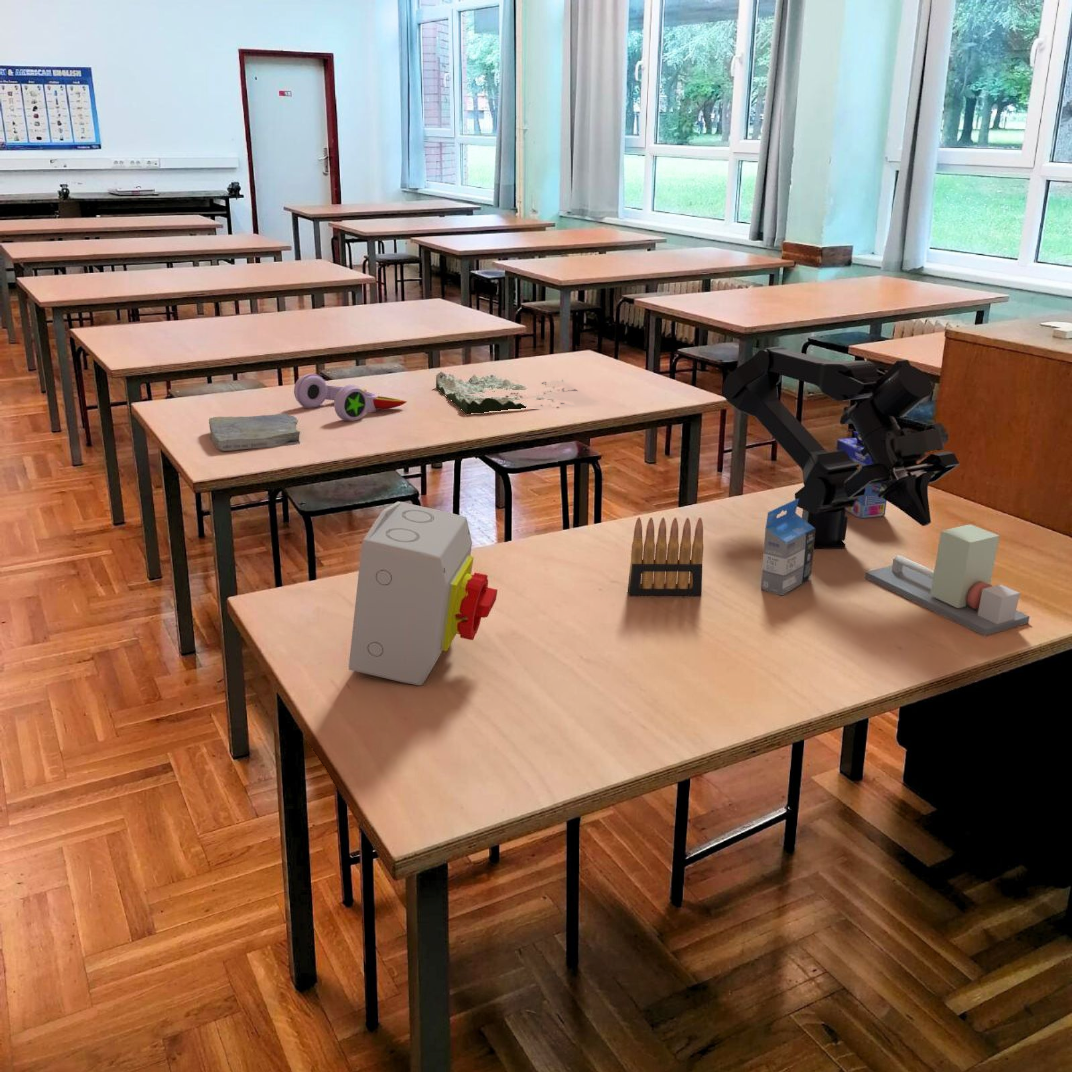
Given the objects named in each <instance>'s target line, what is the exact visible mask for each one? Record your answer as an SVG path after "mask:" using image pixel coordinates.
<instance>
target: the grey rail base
mask: <svg viewBox="0 0 1072 1072" xmlns="http://www.w3.org/2000/svg"><path fill="white" fill-rule="evenodd" d="M933 575H934V570H933V569H932V568H929V567H927V566H924V565H923V564H920V563H918V562H915V561H913V560H911V559H908V558H906V557H904V556H902V555H899V554H898V555H896V556H895V557H894V558H893V559H892V563H891V565H888V566H884V567H880V568H876V569H872V570H867V571H865V574H864V578H865V579H867V580H869V581H871V582H873V583H875V584H877V585H879V586H881V587H883V588H886V589H887V590H889V589H890V590H889V591H891V592H893V591H894V593H896V594H897V593H898V595H899V596H902V597H904V598H906V599H908V600H910V601H912V602H913V603H916V604H918V605H921V606H922V607H925V608H927V609H928V610H931V611H933V612H935V613H936V614H939V615H941V616H943V617H945V618H946V619H948V620H951V621H953V622H954V623H957V624H959V625H961V626H964V627H965V628H967V629H970V630H971V631H974V632H976V633H978V634H980V635H982V636H984V637H986V636H989V635H992V634H996V633H999V632H1003V631H1006V630H1010V629H1012V628H1016V627H1018V626H1023V625H1026V624H1029V622H1030V618H1031V617H1030V616H1029V615H1027V614H1025V613H1023V612H1020V611H1018V610H1017V609H1018V603H1019V598H1020V596H1021V595H1020V594H1021V592H1019V591H1016V590H1015V589H1012V588H1009V587H1007V586H1005V585H1003V584H996V585H991V583H990V584H988V583H985V582H983V581H979V582H977V583H975V584H974V585H973V586H972V588H969V593H968V596H967V603H966V606H965V607H961V608H956V607H954V606H952V605H950V604H948V603H946V602H944V601H941V600H939V599H937V598H935V597H933V596H931V595H930V592H931V586H932V581H933Z"/></svg>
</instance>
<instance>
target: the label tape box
mask: <svg viewBox="0 0 1072 1072" xmlns="http://www.w3.org/2000/svg"><path fill="white" fill-rule="evenodd" d="M798 501H799V499H796V500H795V499H794V500H791V501H789V502H787V503H785V504H782V505H780V506H778V507H776V508H774V509H771V510H770V511H768V512H767V514H766V515H767V517H766V523H765V528H764V529H765V532H764V542H763V543H764V544H763V557H762V570H761V582H760V583H761V585H760V589H761V590H764V591H766V592H769V593H772V594H776V595H781V596H784V595H785V594H788V593H789V592H791V591H792V590H794V589H795V588H797V587H798V586H800V585H802V584H803V583H805V582H807V581H809V580H810V579H811V578H812V573H813V571H812V570H813V559H814V549H815V548H814V540H815V528H814V527H813V526H812V525H810V524H809V523H808V522H806V521H805V520H804V519H802V516H800V515H798V514H797V508H798V507H797V504H798ZM782 512H786V513H785V514H783V515H781V516H778V515H779V514H782ZM777 516H778V517H777Z"/></svg>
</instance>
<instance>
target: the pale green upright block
mask: <svg viewBox="0 0 1072 1072" xmlns="http://www.w3.org/2000/svg"><path fill="white" fill-rule="evenodd" d="M999 540H1000V535H999V534H998V533H997V534H996V533H995V532H992V531H989V530H986V529H984V528H981V527H979V526H976V525H974V524H971V523H970V524H965V525H961V526H956V527H952V528H947V529H944V530H940V535H939V542H938V548H937V553H936V559H935V564H934V575H933V581H932V586H931V592H930V595H931V596H933V597H935V598H937V599H939V600H941V601H944V602H946V603H948V604H950V605H952V606H954V607H956V608H961V607H965V606H966V603H967V596H968V593H969V588H972V586H973V585H974V584H975V583H977V582H979V581H983V582H985V583H988V584H990V585H991V581H992V577H993V571H994V566H995V562H996V556H997V551H998V547H999V542H1000V541H999Z"/></svg>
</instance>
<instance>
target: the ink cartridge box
mask: <svg viewBox="0 0 1072 1072" xmlns="http://www.w3.org/2000/svg"><path fill="white" fill-rule="evenodd" d="M853 434H854V437H849V438H848V437H847V438H839V439H837V442H836V450H835V451H840V450H844V451H845V452H846V453H847V454H848V455H849V457H850V458H851V459H852V461H854V462H855V463H857V464H859V467H857V468H858V469H859V468H861V467H862V466H865V465H871V464H873V462H872V460H871V458H870V456H865V457H863V456H862V454H861V452H860V451H861V450H862V449H863V448H865V446H864V444H863V442H862V440H861V438H860V436H859V434H858V432H857V430H856V431H855V430H853ZM881 487H882V486H881V484H878V485H873V486H867V487H865V493H864V495H863V496H862V497H858V498H857V500H856V502H855V504H854V506H853V507H847V508H845V509H846V512H848V513H849V514H852V515H853V516H855V517H857V518H858V519H865V518H866V519H867V518H875V517H878V518H879V517H884V516H886V510H887V502H888V501H887V500H885V499H883V498H879V497H878V496H877V495H878V494H880V493H881V492H882V491H883V490H882V488H881Z"/></svg>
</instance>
